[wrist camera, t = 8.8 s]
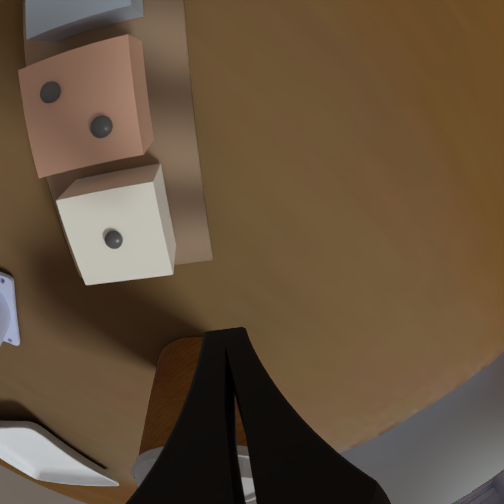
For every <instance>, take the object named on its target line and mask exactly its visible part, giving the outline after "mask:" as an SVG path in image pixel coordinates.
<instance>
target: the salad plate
mask: <svg viewBox="0 0 504 504" xmlns="http://www.w3.org/2000/svg"><path fill="white" fill-rule="evenodd" d="M0 458H1V459H2V460H4V461H5V462H7V463H9V464H10V465H12V466H14V467H15V468H17V469H19V470H20V471H22V472H24V473H26V474H27V475H29V476H31V477H33V478H35V479H37V480H42V481H48V482H55V483H62V484H71V485H87V486H119V483H118V481H117V480H116V479H115V478H114V477H113V476H112V475H111V474H110V473H108V472H107V471H106V470H104V469H103V468H101V467H100V466H98V465H96V464H95V463H93V462H91V461H90V460H88V459H87V458H85V457H84V456H82V455H81V454H79V453H78V452H76V451H75V450H73V449H72V448H71V447H69V446H68V445H66V444H65V443H63V442H62V441H61V440H59V439H58V438H56V437H55V436H54V435H52V434H51V433H50V432H48V431H47V430H45V429H44V428H43V427H41V426H40V425H38V424H36V423H34V422H30V421H0Z"/></svg>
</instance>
